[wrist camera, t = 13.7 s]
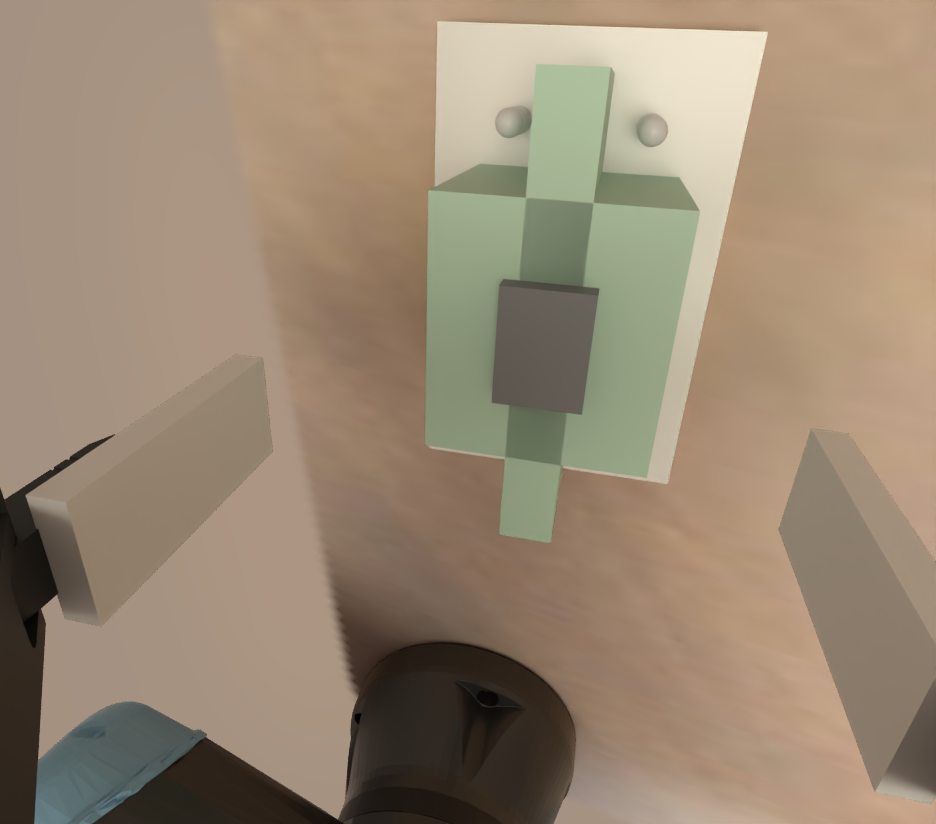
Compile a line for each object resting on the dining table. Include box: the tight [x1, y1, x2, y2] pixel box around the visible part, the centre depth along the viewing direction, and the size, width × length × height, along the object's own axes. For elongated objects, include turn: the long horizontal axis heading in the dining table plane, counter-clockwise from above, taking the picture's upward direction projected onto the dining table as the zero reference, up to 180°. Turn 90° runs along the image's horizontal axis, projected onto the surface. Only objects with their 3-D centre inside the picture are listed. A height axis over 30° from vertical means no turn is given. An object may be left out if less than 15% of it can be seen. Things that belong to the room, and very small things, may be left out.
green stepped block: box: [425, 64, 700, 543], centre depth 24 cm, size 16×8×9 cm, turn 177°
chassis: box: [430, 21, 768, 484], centre depth 27 cm, size 19×12×5 cm, turn 177°
